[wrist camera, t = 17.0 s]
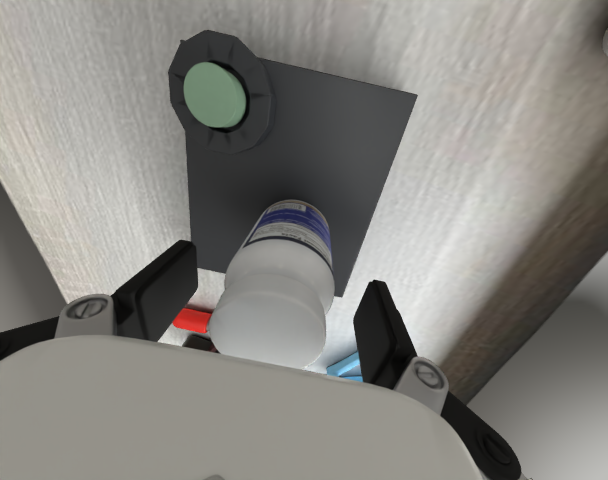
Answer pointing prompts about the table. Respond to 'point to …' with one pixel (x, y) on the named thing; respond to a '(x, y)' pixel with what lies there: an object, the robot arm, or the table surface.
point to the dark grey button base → (285, 150)
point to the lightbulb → (605, 43)
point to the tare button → (214, 95)
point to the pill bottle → (278, 289)
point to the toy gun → (195, 328)
